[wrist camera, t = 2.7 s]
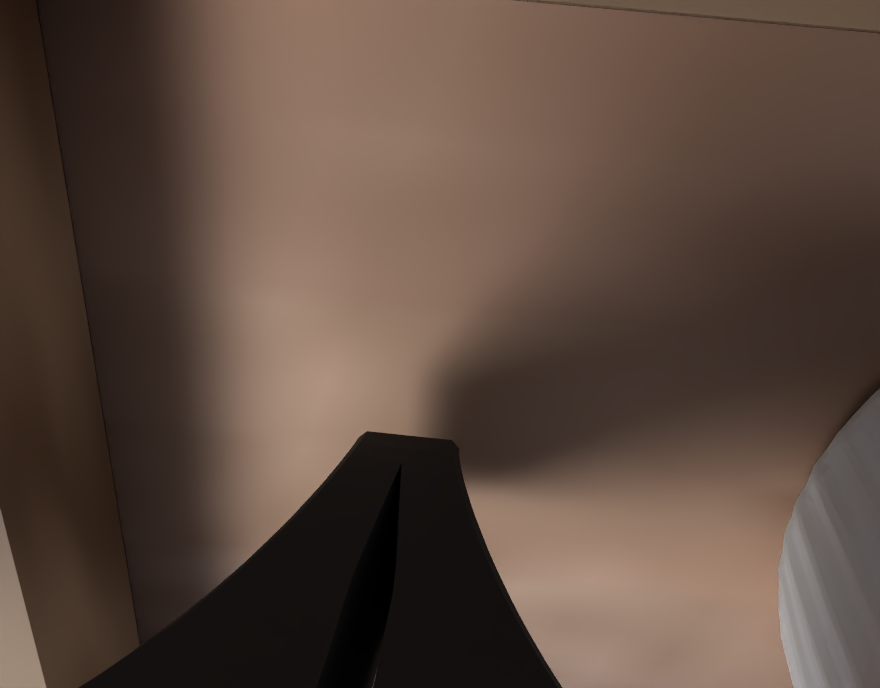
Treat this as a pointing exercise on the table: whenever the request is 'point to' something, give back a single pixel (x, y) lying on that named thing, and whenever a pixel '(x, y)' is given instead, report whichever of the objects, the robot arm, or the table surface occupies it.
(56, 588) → the brown wooden flat frame
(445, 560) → the robot arm
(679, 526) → the table surface
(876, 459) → the ramekin
